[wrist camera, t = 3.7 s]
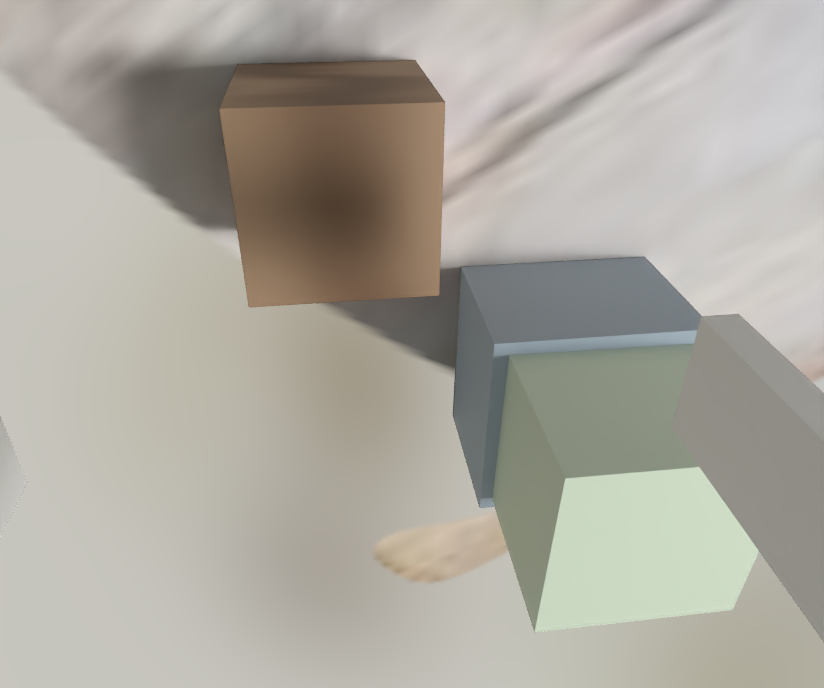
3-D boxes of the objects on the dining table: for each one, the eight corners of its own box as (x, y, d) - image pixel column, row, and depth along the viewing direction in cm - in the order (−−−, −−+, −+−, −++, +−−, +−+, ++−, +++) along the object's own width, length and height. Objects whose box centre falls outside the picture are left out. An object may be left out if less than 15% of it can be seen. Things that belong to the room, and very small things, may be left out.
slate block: (452, 414, 32) (479, 507, 27) (460, 265, 28) (494, 344, 23) (611, 402, 33) (665, 490, 28) (643, 255, 29) (714, 329, 24)
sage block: (492, 498, 27) (534, 632, 22) (509, 355, 23) (565, 478, 18) (655, 484, 28) (732, 609, 23) (698, 343, 24) (801, 458, 19)
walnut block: (259, 229, 26) (248, 307, 21) (238, 63, 22) (218, 108, 17) (413, 221, 26) (439, 295, 21) (414, 59, 23) (445, 102, 18)
